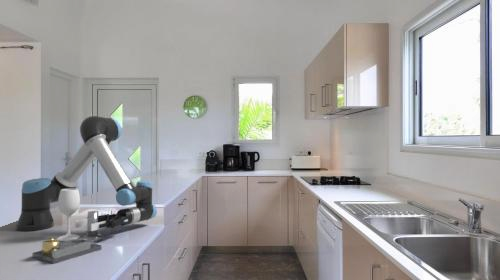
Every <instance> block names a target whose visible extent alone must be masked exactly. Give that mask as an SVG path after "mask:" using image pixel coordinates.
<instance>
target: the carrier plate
mask: <svg viewBox="0 0 500 280" xmlns="http://www.w3.org/2000/svg"><path fill="white" fill-rule="evenodd" d="M41 248H42V249H41V250H38V251H35V252H32V253H31V254H32V258H34V259H37V260H40V261H44V262H46V263H49V264H53V265H54V264H57V263H58V264H59V263H60V262H64V261H66V260H68V261H69V260H70V259H73V258H74V259H75V258H77V257H81V256H83V255H88V254H91V253H93V252H97V251H100V250H102V244H97V243H93V240H90V239H83V238H78V239H73V240H67V241H59V240H57V239H55V238H54V237H49V238H47V239H46V240H44V241H42V246H41Z"/></svg>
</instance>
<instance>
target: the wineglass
mask: <svg viewBox="0 0 500 280" xmlns="http://www.w3.org/2000/svg"><path fill="white" fill-rule="evenodd" d="M57 204H58V206H57V207H58V210H59V211H60V213H61V214H63V215H65V216H66V219H67V226H66V234H63V235H60V236H58V237H57V238H56V240H59V242H63V241H67V240H73V239H80V237H81V236H80V235H78V234H72V233H71V217H72V215H74V214H75V213H77V212H78V210H79V208H80V205H81V196H80V191H79V188H76V189H74V188H72V189H62V190H61V191H60V194H59V200H58V202H57Z"/></svg>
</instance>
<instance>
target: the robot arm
mask: <svg viewBox="0 0 500 280" xmlns="http://www.w3.org/2000/svg"><path fill="white" fill-rule="evenodd" d="M79 132H80V137H81V139H82V142H83V143H82V144H81V146H80V147H79V148H78V150H77V151H76V153H75V154H74V155H73V157H72V158H71V159H70V161H68V163H67V164H66V165H65V167H64V169H63V170H62V171H60V172H57V173H56V174H55V175H54V176H53V177H52V179H51V178H49V177H40V178H32V179H28V180H26V181H23V183H22V186H21V187H22V188H21V208H20V209H21V211H20V212H21V213H20V215H19V217H18V220H17V222H16V225H15V226H16V228H15V229H16V231H20V232H32V230H34V231H42V230H46V229H51V228H52V227H54V225H55V220H54V217H53V215H52V213H51V204H53V203H58V200H59V194H60V191H61V190H62V189H72V188H74V189H78V183H79V182H78V180H79V179H80V177H81V176H82V175H83V173H85V171H86V170H87V169H88V167H89V165H90V164H92V162H93V161H94V160H95V158H96V160H97V162H98V163H99V165H100V167H101V168H102V170H103V172H104V173H105V175H106V177H107V179H108V180H109V182H110V183H111V185H112V186H113V188H114V190H115V192H116V194H115V201H116V203H117V204H118V205H120V206H122V207H124V206H125V207H126V206H130V207H127V208H121V209H119V210H117V212H116V213H112V214H109V213H107V214H101V215H98V223H93V224H90V231H94V230H98V231H99V230H102V229H106V228H111V229H113V228H117V227H119V226H120V227H121V226H128V225H134V224H135V223H139V222H143V221H149V220H152V219H153V218H155V217H156V215H157V211H158V210H157V208H156V207H157V206H156V205H155V204H154V203H153V182H152V181H150V180H138V181H137V182H136V185H135V186H134V184H133V183H132V181H131V180H130V178H129V175H127V173H126V171H125V170H124V168H123V167H122V165H121V163H120V162H119V160H118V158H117V156H116V155H115V152H113V150H112V148H111V146H110V143H111V142H113V141H114V142H115V141H117V140H119V138H120V137H121V135H122V127H121V124H120V123H119V122H118V120H116V119H113V118H112V117H103V116H97V115H90V116H88V117H86V118H84V120H82V122H81V123H80V127H79ZM133 204H135V206H131V205H133ZM87 220H88V216H86V218H83V219H78V220H75V221H74V228H83V227H85V226H86V227H87Z"/></svg>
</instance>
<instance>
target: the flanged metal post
mask: <svg viewBox="0 0 500 280" xmlns="http://www.w3.org/2000/svg"><path fill="white" fill-rule="evenodd" d="M98 216H99V210H90V211H87V217H88V220H87V226H86V227H87V228H86V231H87V232H86V234H85V235H84V236H83V237H82V239H90V240H93V244H96V243H98V242H101V241H102V234H101V233H99V229H98V230H94V231H90V224H93V223H98Z"/></svg>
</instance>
